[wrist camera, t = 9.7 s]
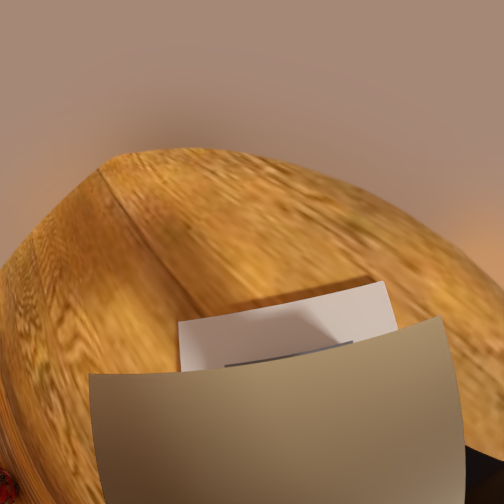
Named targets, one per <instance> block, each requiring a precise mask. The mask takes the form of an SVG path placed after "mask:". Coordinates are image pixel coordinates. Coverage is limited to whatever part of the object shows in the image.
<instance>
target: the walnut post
mask: <svg viewBox="0 0 504 504" xmlns="http://www.w3.org/2000/svg"><path fill="white" fill-rule="evenodd" d="M89 399H90V413H91V424H92V433H93V441H94V448H95V455H96V461H97V466H98V472H99V477H100V481H101V486H102V490H103V495H104V499H105V502H106V504H464V501H465V477H466V465H465V441H464V429H463V419H462V411H461V403H460V397H459V391H458V385H457V380H456V374H455V370H454V365H453V360H452V356H451V352H450V348H449V344H448V340H447V336H446V333H445V329H444V325H443V322H442V319H441V315H439V316H436V317H434V318H431V319H428V320H425V321H423V322H420V323H417V324H414V325H411V326H408V327H405V328H402V329H399V330H396V331H393V332H390V333H387V334H383V335H380V336H377V337H373V338H370V339H366V340H362V341H359V342H355V343H351V344H348V345H344V346H340V347H336V348H331V349H327V350H323V351H318V352H314V353H309V354H305V355H300V356H295V357H290V358H284V359H279V360H273V361H267V362H261V363H255V364H248V365H241V366H234V367H226V368H217V369H208V370H198V371H186V372H172V373H153V374H89Z"/></svg>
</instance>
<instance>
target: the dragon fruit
mask: <svg viewBox="0 0 504 504" xmlns="http://www.w3.org/2000/svg"><path fill="white" fill-rule="evenodd" d="M11 479H12V476H11V475H10V473H9V472H7V471H6V469H5V470H4V469H3V468H2V467H0V504H13V503H14V502H15V501H14V497H16V496H17V493H19V487H18V484H17V485H16V484H15V483H14V482H12V480H11Z"/></svg>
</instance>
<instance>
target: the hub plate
mask: <svg viewBox="0 0 504 504" xmlns="http://www.w3.org/2000/svg"><path fill="white" fill-rule="evenodd" d="M396 330H398V327H397V324H396V320H395V316H394V313H393V310H392V306H391V303H390V300H389V296H388V293H387V290H386V287H385V284H384V281H379V282H376V283H372V284H368V285H364V286H360V287H356V288H352V289H348V290H343V291H339V292H335V293H331V294H326V295H322V296H317V297H313V298H308V299H304V300H299V301H294V302H289V303H285V304H280V305H275V306H269V307H264V308H259V309H254V310H248V311H243V312H237V313H231V314H225V315H219V316H213V317H207V318H201V319H194V320H187V321H181V322H178V331H179V347H180V361H181V372H186V371H198V370H208V369H217V368H226V367H234V366H241V365H248V364H255V363H261V362H267V361H273V360H279V359H284V358H290V357H295V356H300V355H305V354H309V353H314V352H318V351H323V350H327V349H331V348H336V347H340V346H344V345H348V344H351V343H355V342H359V341H362V340H366V339H370V338H373V337H377V336H380V335H383V334H387V333H390V332H393V331H396Z"/></svg>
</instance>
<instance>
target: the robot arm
mask: <svg viewBox="0 0 504 504" xmlns="http://www.w3.org/2000/svg"><path fill="white" fill-rule="evenodd" d="M465 465H466V477H465V501H464V504H504V461H501V460H498V459H495V458H493V457H491V456H488V455H486V454H483V453H481V452H479V451H477V450H474V449H472V448H470V447H468V446H466V445H465Z"/></svg>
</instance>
